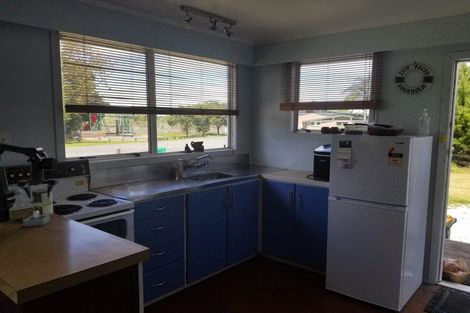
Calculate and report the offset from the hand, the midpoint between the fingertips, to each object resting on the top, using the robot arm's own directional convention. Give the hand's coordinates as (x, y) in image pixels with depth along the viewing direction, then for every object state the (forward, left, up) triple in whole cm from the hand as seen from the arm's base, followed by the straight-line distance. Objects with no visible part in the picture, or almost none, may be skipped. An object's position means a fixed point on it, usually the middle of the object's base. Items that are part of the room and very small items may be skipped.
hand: (39, 198), depth 188 cm
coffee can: (-14, -3, -12) cm, 19 cm away
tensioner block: (-2, -5, -12) cm, 13 cm away
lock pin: (+7, 0, -12) cm, 14 cm away
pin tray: (+8, +1, -12) cm, 14 cm away
